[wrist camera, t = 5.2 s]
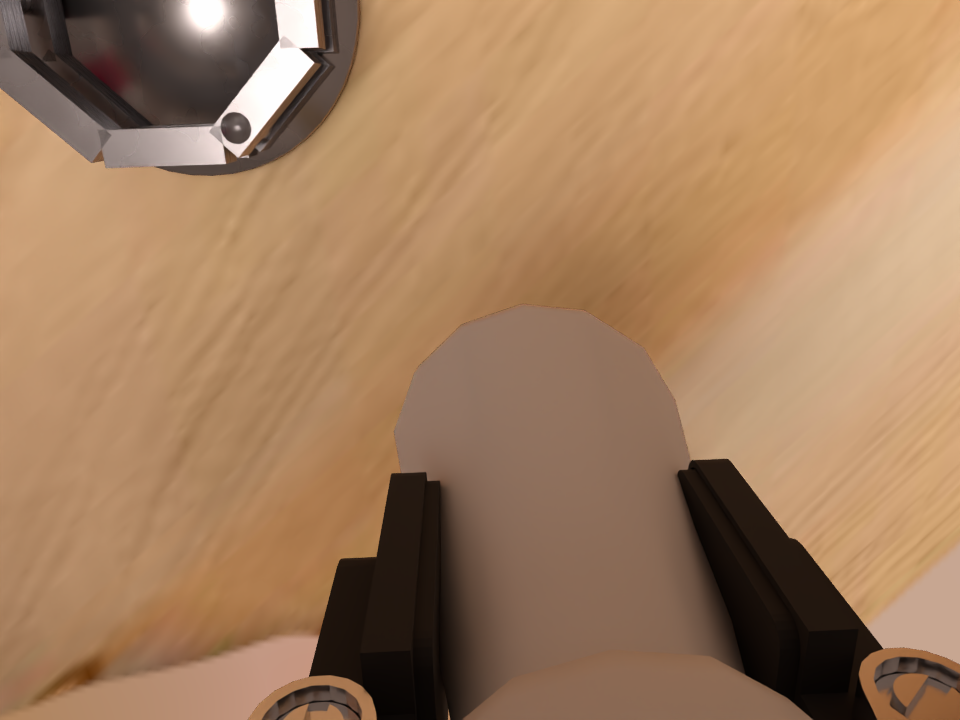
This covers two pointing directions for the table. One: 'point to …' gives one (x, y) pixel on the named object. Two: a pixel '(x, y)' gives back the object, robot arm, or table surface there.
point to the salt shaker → (568, 531)
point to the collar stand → (179, 76)
